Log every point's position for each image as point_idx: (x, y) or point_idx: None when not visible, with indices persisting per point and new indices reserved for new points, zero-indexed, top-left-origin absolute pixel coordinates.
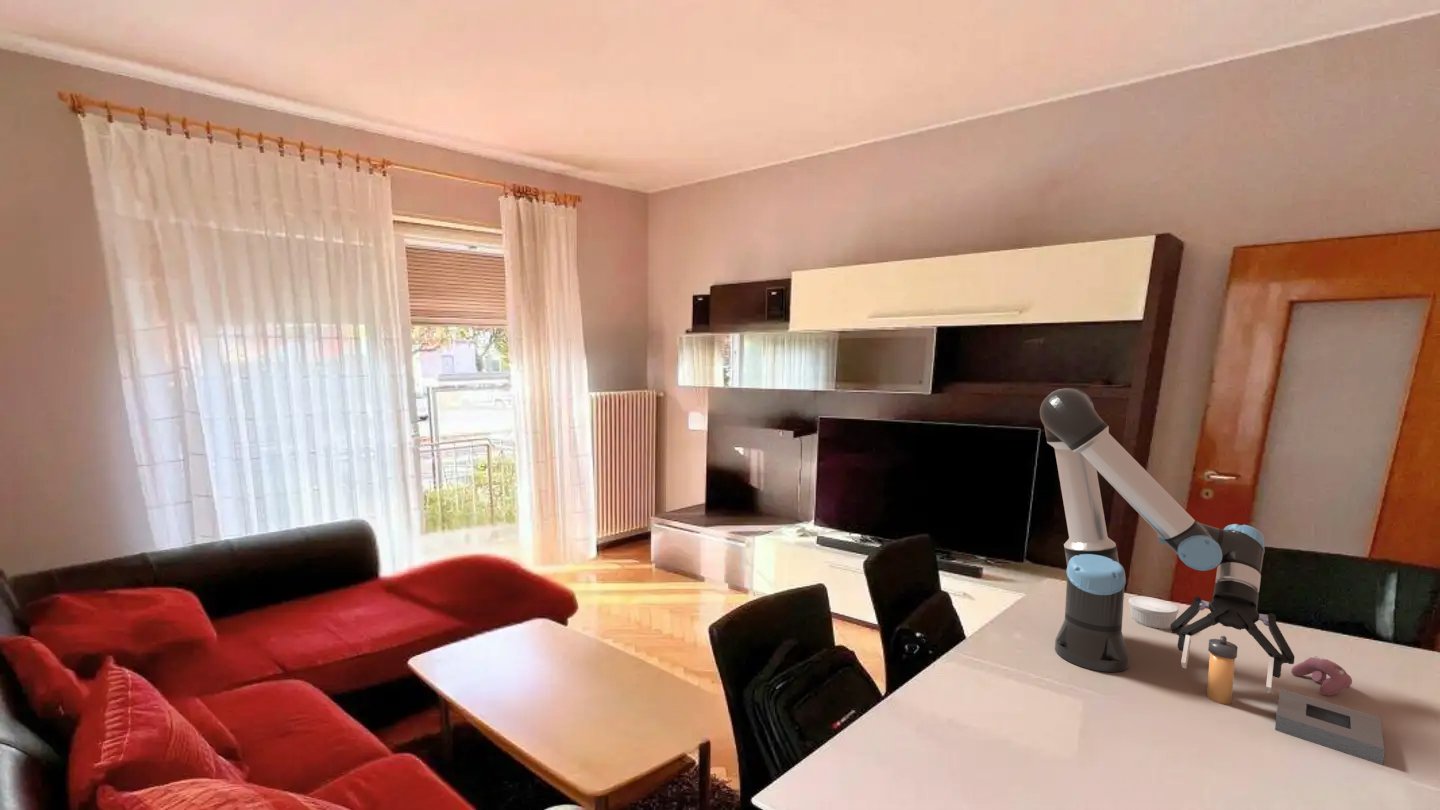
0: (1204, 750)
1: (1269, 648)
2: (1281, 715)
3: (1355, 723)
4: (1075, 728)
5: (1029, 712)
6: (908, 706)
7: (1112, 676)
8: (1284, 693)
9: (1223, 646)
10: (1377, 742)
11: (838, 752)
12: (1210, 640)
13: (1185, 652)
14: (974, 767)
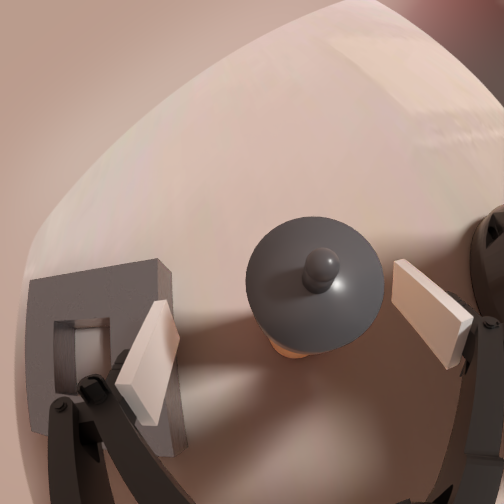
0: (248, 110)
1: (122, 424)
2: (148, 265)
3: (48, 361)
4: (360, 65)
5: (401, 66)
6: (428, 40)
7: (461, 227)
8: (159, 427)
9: (301, 237)
10: (32, 297)
11: (387, 8)
12: (376, 268)
13: (418, 277)
14: (348, 16)
